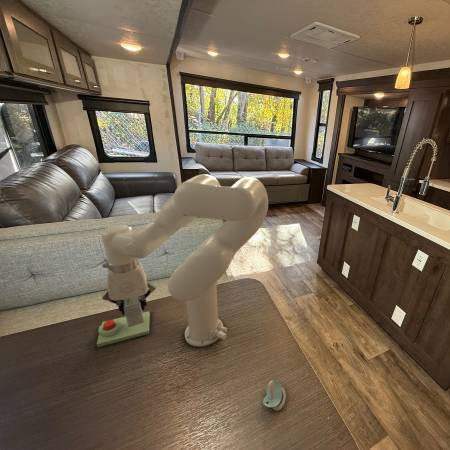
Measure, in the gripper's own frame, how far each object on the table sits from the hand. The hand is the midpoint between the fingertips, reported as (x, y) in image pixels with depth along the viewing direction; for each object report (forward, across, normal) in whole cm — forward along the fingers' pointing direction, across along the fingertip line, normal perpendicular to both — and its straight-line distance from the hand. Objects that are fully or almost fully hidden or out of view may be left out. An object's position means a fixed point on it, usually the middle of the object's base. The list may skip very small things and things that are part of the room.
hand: (133, 309), depth 83 cm
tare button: (+5, -7, 0) cm, 9 cm away
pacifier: (+7, +35, -42) cm, 55 cm away
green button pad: (+8, -3, 0) cm, 8 cm away
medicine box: (+4, 0, 0) cm, 4 cm away
